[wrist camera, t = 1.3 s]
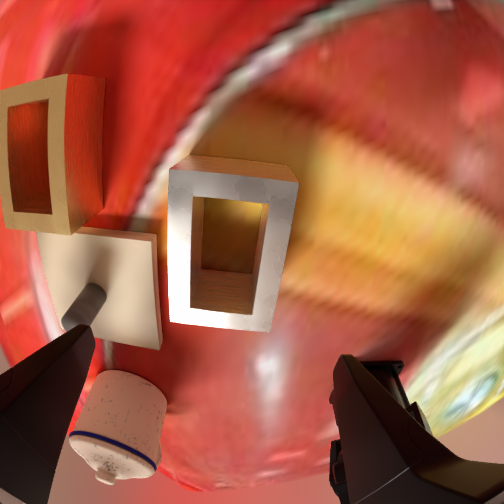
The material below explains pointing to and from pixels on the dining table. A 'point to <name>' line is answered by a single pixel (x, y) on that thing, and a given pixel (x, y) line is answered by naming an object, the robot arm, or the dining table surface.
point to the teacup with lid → (120, 427)
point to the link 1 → (52, 153)
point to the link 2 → (191, 235)
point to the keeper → (105, 283)
